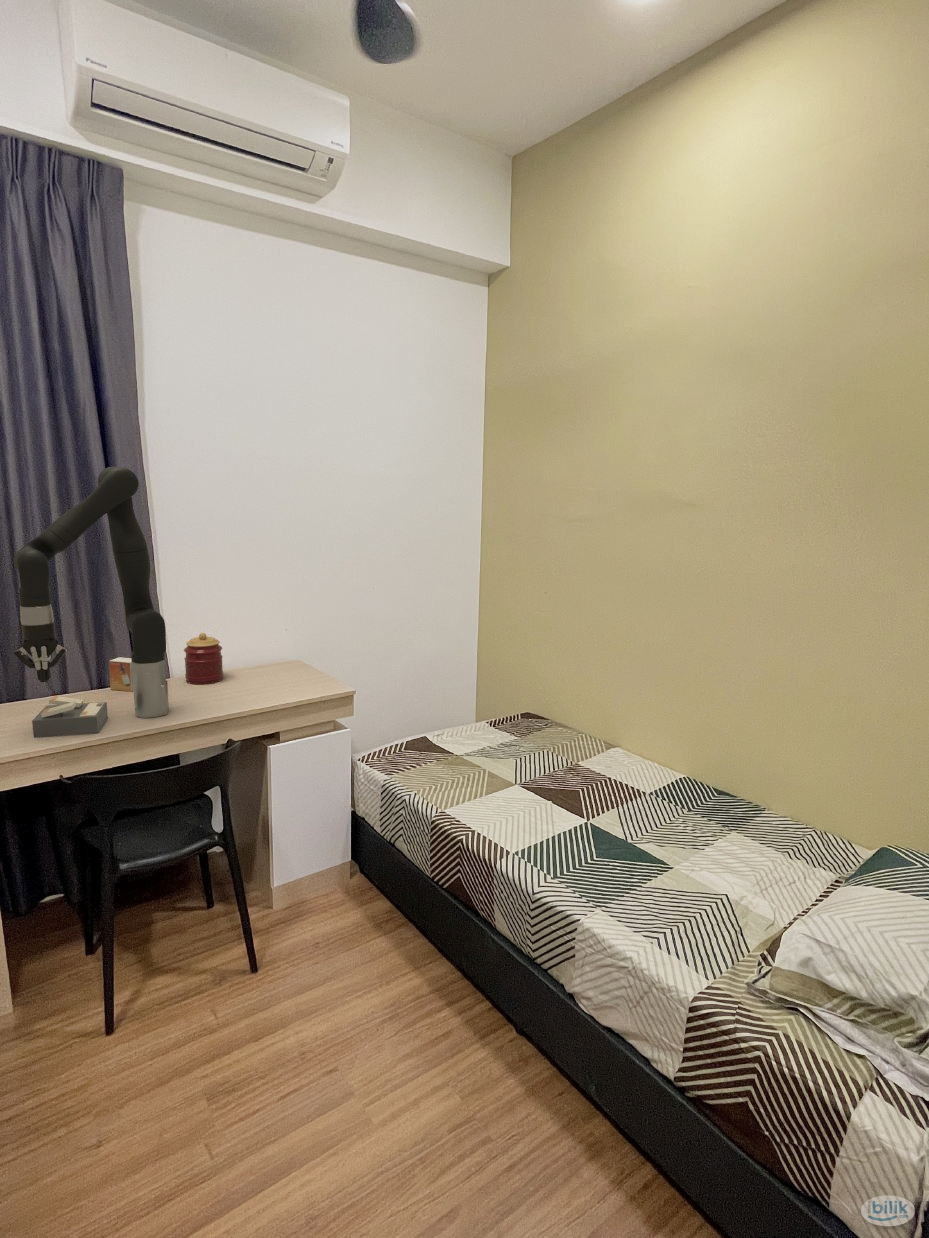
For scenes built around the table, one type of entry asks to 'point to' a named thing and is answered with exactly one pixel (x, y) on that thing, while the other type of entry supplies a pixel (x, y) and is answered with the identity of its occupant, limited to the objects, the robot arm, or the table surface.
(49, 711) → the rocker
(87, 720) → the box
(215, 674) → the canister
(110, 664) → the small box
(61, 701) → the rocker
